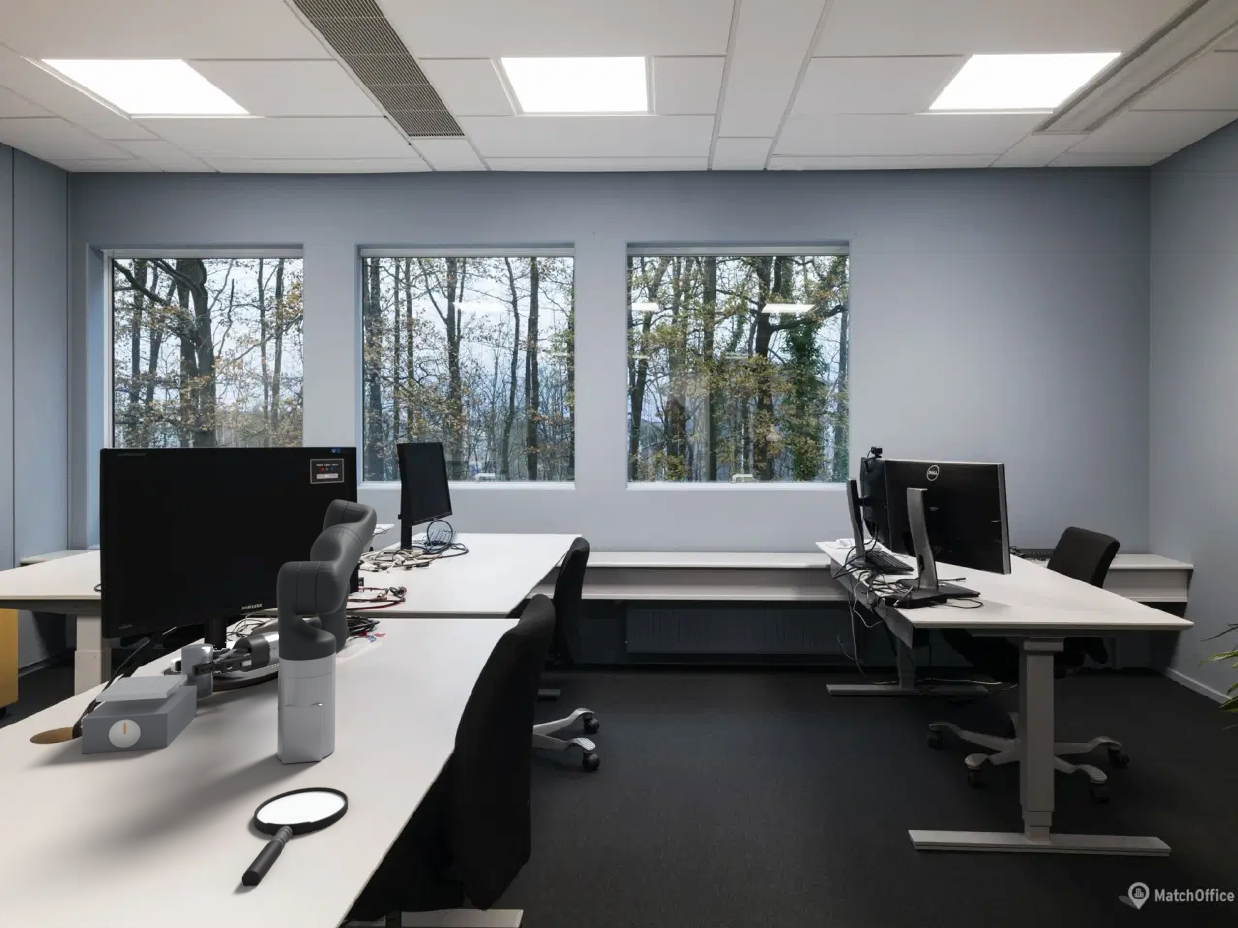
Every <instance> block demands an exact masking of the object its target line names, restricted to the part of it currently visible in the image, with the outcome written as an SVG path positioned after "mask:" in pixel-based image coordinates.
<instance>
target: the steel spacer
mask: <svg viewBox="0 0 1238 928" xmlns="http://www.w3.org/2000/svg"><path fill="white" fill-rule="evenodd" d="M213 646H214V645H213V644H211V643H194V644H190V645H189V644H188V645H185V646H182V647H181V648H180V657H181V673H180V675H183V674H187V680H186V681H185V682H183V683H182V684H181V685H180V686H196V685H197V694H196V700H200V699H205V698H209V697H210V696H212V695H213V676H212V673H208V674H204V675H200V676H196V677H195V676H192V666H193V665H197V664H201V663H206V662H212V660H213Z"/></svg>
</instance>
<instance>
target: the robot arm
mask: <svg viewBox="0 0 1238 928" xmlns="http://www.w3.org/2000/svg"><path fill="white" fill-rule="evenodd" d="M377 515H378V514H377V512H376V509H375V508H374V507H372V506H370V505H368V504H364V503H358V502H353V501H348V500H343V499H333V501H331V503H330V504H329V505H328V507H327V509H326V513H325V516H324V521H323V526H322V532H321V533H320V534H319V535H318V536H317V538H316V540H315V541H314V543H313V545H312V546H311V549H310V553H309V554H310V557H309V558H310V561H307V560H306V561H303V560H301V561H289V562H288V561H287V562H285V563H284V564H282V566H281V567H280V569H279V571H278V574H277V579H276V606H277V607H276V608H277V625H278V626H277V629H278V630H276V631H268V632H263V633H257V634H254V635H250V636H244V637H240V638H238V639H237V640H235V641H236V643H235V645H234V647H233V648H232V649H230V648H222V649H221V650H217V648H213V660H212V661H213V663H212V662H206V663H201V664H197V665H193V666H192V676H195V677H196V676H200V675H204V674H208V673H212V672H213V673H218V672H220V673H221V674H225V673H230V672H235V671H241V672H250V671H253V670H257V669H261V668H265V667H269V666H273V665H276V664H278V663H279V664H278V665H277V666H278V673H277V674H278V677H277V679H278V680H277V750H276V751H277V755H276V756H277V758H278V759H279V760H281V763H282V764H283V765H284V764H297V763H306V762H308V763H309V762H317V761H318V762H319V761H322V760H323V758H325V757H327V756H329V755H331V754H332V753H333V752H334V751H335V748H336V689H337V688H336V685H337V684H336V681H337V677H336V676H337V675H336V674H337V673H336V672H337V671H336V669H337V655H338V654H339V653H340V652H341V651H342V650H343V649H344V648H345V645H346V644H347V641H348V632H349V631H348V618H347V617H348V616H347V607H348V603H349V598H350V592H351V583H350V581H351V580H350V579H351V576H352V574H353V573H354V570H355V568H356V567H357V565H358V563H359V562H360V559H361V557H362V554H363V552H364V549H365V547H366V546H367V544H368V543H369V542H370V540H371V539H372V537H373V535H374V533H375V530H376V527H377V522H378V516H377ZM313 615H314V617H312V618H309V619H307V620H304V618H303V616H313ZM315 615H316V616H315ZM175 671H177V672H181V660H178V661H176V662H175Z"/></svg>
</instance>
